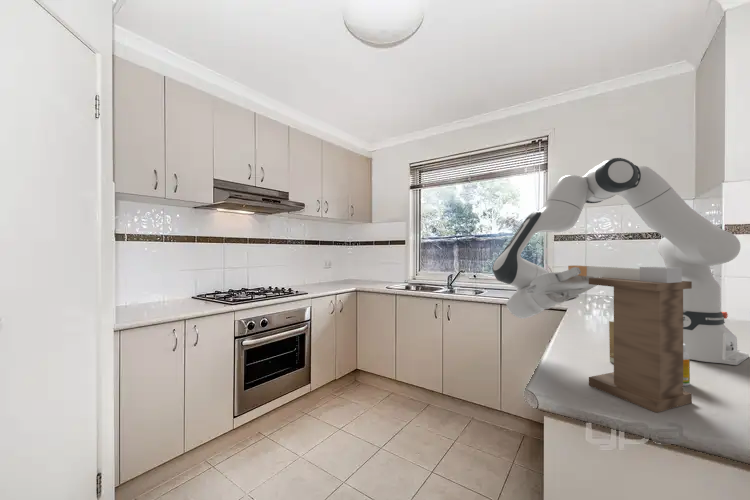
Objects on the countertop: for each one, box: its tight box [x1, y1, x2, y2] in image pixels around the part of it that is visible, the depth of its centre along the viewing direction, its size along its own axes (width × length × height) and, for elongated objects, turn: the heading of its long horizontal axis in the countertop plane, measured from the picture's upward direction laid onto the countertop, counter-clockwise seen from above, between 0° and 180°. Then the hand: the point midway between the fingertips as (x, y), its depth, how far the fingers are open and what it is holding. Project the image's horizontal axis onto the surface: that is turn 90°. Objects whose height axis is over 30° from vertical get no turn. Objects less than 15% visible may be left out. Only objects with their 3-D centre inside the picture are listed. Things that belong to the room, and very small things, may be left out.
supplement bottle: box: [683, 343, 691, 387], centre depth 80 cm, size 5×5×10 cm
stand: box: [588, 277, 693, 413], centre depth 73 cm, size 12×14×26 cm
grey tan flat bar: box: [567, 264, 682, 283], centre depth 78 cm, size 5×23×3 cm, turn 20°
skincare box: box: [608, 320, 614, 364], centre depth 93 cm, size 6×4×12 cm
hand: (589, 269), depth 84 cm, fingers open, 7 cm apart
